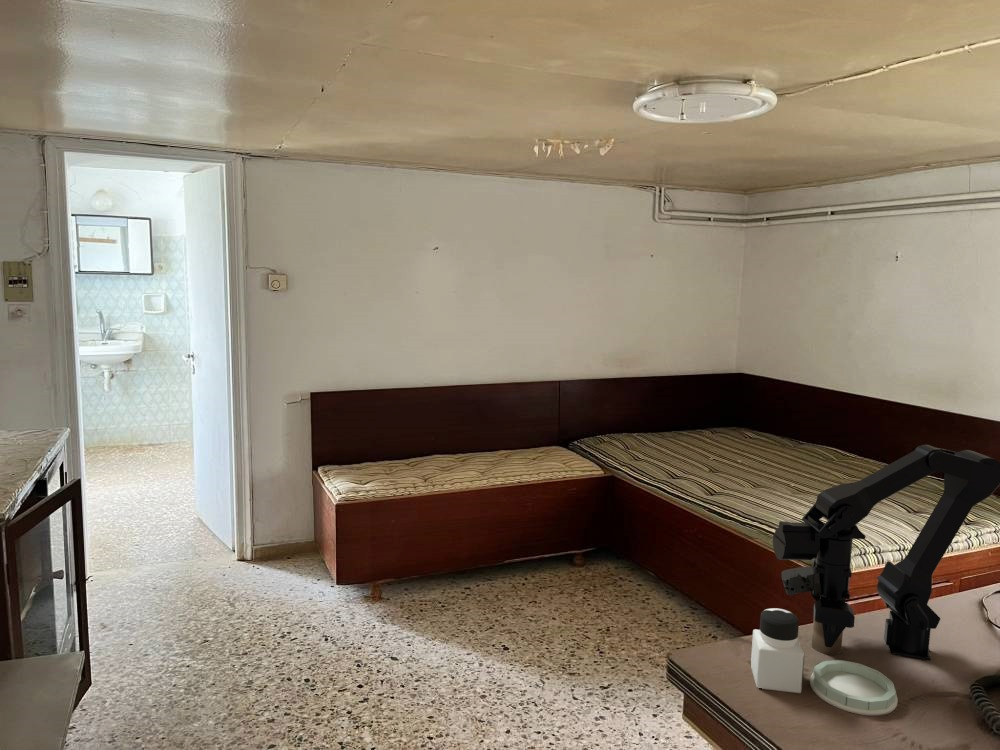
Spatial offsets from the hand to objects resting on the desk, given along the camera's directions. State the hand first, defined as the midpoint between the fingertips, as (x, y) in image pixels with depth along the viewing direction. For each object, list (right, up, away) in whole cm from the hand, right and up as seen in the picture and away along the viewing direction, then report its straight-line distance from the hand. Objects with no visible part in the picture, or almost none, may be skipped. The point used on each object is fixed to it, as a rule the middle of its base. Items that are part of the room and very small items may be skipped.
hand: (827, 639), depth 131 cm
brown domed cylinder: (0, -2, 0) cm, 2 cm away
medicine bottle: (-14, -3, -11) cm, 18 cm away
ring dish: (-2, -3, -14) cm, 14 cm away
